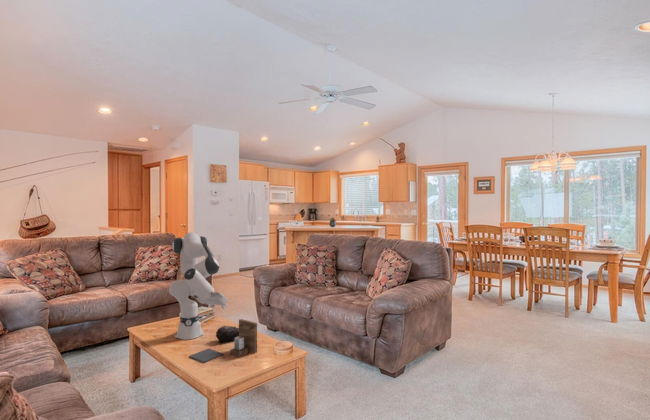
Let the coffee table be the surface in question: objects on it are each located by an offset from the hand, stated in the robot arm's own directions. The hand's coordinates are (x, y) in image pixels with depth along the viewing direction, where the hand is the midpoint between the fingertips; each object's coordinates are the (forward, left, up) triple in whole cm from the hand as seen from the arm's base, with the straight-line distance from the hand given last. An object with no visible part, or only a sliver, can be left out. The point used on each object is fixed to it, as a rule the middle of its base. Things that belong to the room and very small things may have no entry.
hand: (218, 307), depth 211 cm
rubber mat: (-9, -7, -31) cm, 33 cm away
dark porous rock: (-33, +6, -32) cm, 46 cm away
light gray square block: (-7, +12, -31) cm, 34 cm away
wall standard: (-9, +13, -31) cm, 35 cm away
